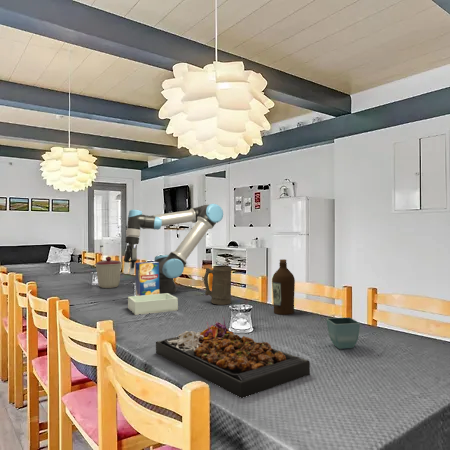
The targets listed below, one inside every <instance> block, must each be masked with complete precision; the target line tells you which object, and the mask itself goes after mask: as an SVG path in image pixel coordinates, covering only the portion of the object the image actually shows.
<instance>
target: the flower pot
mask: <svg viewBox="0 0 450 450" xmlns="http://www.w3.org/2000/svg"><path fill="white" fill-rule="evenodd" d="M360 324H361V323H360V322H359V321H357V320H356V319H354V318H352V317H331V318H329V317H327V318H326V328H327V332H328V336H329V339H330V341H331V343H332V344H333V346H335V347H336V348H337V349H338V350H343V349H354V348H355V346H356V344H357V342H358V340H359V337H360V336H359V334H360V327H361V325H360Z"/></svg>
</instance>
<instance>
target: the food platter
mask: <svg viewBox="0 0 450 450" xmlns="http://www.w3.org/2000/svg"><path fill="white" fill-rule="evenodd" d="M222 318H223V324H222V323H221V322H220V321H215V323H214V324H211V325H210V326H209V322H208V321H206V326H207V328H205V329H204V330H203V331H198V332H196V331H194V330H191V331H188V330H185V331H184V332H181V333H180V334H178V335H177V336H175V337H169V338H165V339H162V340H158V341H155V353H156V355H158V356H161V357H162V358H164V359H166V360H168V361H170V362H171V363H173V364H176V365H177V366H180V367H181V368H183V369H185V370H187V371H189V372H191V373H192V374H194V375H195V376H196V375H197V376H199V377H200V378H201V379H204V380H206V381H207V382H209V381H210V383H211V382H212V383H211V384H213V383H214V385H215V384H216V385H215V386H217V385H218V386H217V387H219V386H220V387H219V388H221V389H223V390H224V391H227V392H228V391H229V393H230V392H231V393H230V394H232V393H233V395H234V394H235V395H234V396H236V395H237V396H236V397H238V396H239V397H238V398H240V397H241V398H240V399H244V398H246V396H247V397H250V396H253V395H256V394H258V392H259V393H261V392H264V391H267V390H270V389H273V388H275V387H278V386H282V385H284V384H287V383H289V382H293V381H295V380H298V379H299V380H300V379H301V378H304V377H307V376H310V374H311V369H310V367H311V366H310V364H311V363H310V360H307V359H305V358H302V357H299V356H295V355H293V354H290V353H286V352H284V351H281V350H278V349H275V348H274V347H272V346H271V344H270V343H269V342H268V341H266V342H265V341H262V342H256V341H254V339H252V338H250V337H247V336H244V335H243V336H242V337H240V335H238V334H234V332H233V331H229V329H228V328H227V325H226V322H225V321H226V320H225V317H224V316H223V317H222ZM255 393H256V394H255ZM249 395H250V396H249ZM243 397H244V398H243Z"/></svg>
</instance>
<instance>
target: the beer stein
mask: <svg viewBox="0 0 450 450" xmlns="http://www.w3.org/2000/svg"><path fill="white" fill-rule="evenodd" d="M232 271H233V268H232V266H230V265H226V264H225V265H220V264H219V265H214V266H213V269H211V268H210V267H208V268H207V267H206V268H205V273H204V275H203V284H204V287H205V292H204V295H205V296H211V300H210V303H212V304H214V305H219V306H221V305H223V306H225V305H226V306H227V305H230V304H231V303H232V295H231V294H232ZM210 274H212V282H211V283H212V284H211V290H210V286H209V281H208V279H209V278H208V277H209V275H210Z"/></svg>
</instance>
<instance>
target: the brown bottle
mask: <svg viewBox="0 0 450 450" xmlns="http://www.w3.org/2000/svg"><path fill="white" fill-rule="evenodd" d="M278 264H279V268H278V269H277V270H276V271H275V272H274V274H273V275H272V279H271V284H272V287H271V288H272V300H273V303H272V304H273V313H274V314H276V315H281V316H283V315H284V316H288V315H293V314H294V313H295V289H296V288H295V285H296V279H295V276H294V274H293V273H292V272H291V271H290V269H288V265H287V264H288V263H287V259H283V258H282V259H279V263H278Z"/></svg>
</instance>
